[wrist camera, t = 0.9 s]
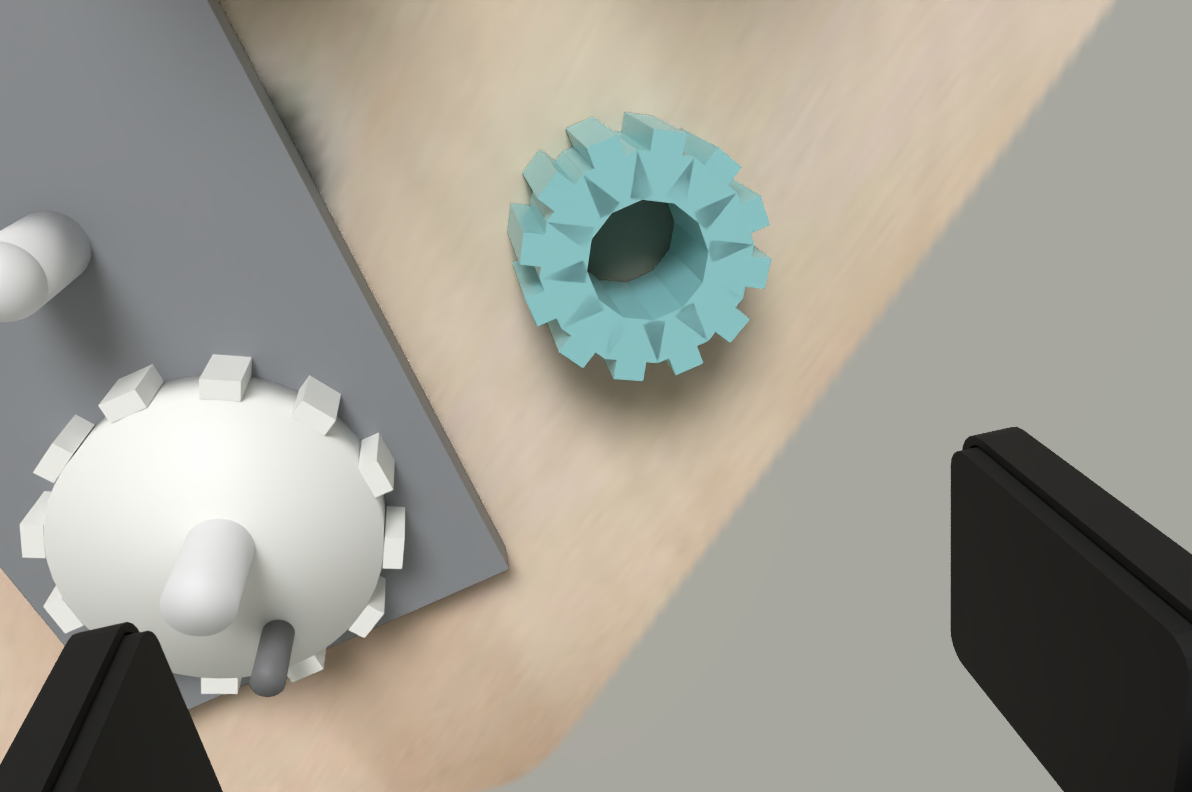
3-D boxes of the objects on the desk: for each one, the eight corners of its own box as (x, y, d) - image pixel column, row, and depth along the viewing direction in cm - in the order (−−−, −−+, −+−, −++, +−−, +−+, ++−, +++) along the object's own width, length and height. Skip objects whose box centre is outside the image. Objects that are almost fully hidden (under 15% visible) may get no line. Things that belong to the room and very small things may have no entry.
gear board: (167, -96, 25) (91, -123, 19) (505, 546, 34) (523, 660, 29) (-321, 117, 25) (-547, 156, 19) (147, 703, 34) (91, 850, 29)
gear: (687, 74, 29) (725, 86, 26) (757, 283, 32) (800, 320, 29) (470, 169, 29) (477, 195, 26) (560, 369, 32) (578, 417, 29)
